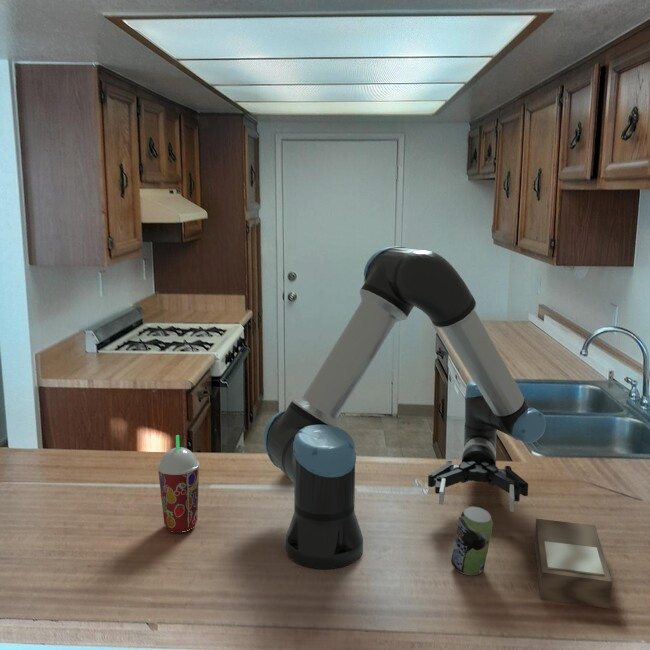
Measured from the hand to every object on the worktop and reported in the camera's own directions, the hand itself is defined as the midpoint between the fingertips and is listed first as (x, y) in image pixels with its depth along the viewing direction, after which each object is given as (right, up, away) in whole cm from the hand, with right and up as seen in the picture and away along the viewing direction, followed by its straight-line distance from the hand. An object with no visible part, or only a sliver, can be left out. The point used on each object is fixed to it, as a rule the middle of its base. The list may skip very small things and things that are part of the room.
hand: (476, 501), depth 131 cm
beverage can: (-3, -11, -8) cm, 14 cm away
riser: (+15, -11, -8) cm, 20 cm away
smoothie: (-60, -8, +8) cm, 61 cm away
